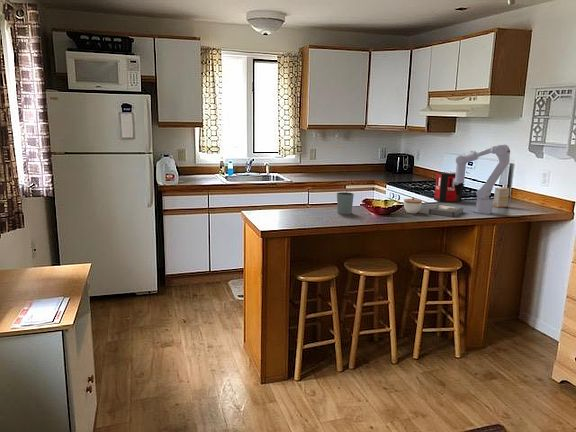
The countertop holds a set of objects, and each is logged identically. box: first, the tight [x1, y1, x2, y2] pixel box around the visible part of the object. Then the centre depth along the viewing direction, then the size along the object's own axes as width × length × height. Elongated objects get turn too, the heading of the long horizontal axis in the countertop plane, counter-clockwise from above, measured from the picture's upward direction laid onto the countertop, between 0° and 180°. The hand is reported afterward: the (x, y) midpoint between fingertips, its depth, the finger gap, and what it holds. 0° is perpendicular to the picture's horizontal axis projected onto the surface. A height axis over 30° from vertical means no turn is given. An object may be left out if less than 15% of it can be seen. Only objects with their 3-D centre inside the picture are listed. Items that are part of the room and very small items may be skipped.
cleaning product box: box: [433, 171, 464, 203], centre depth 342 cm, size 16×9×20 cm, turn 98°
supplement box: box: [492, 186, 510, 208], centre depth 326 cm, size 8×5×13 cm, turn 108°
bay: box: [428, 204, 464, 218], centre depth 299 cm, size 15×20×3 cm
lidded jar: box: [403, 197, 423, 214], centre depth 297 cm, size 11×11×9 cm
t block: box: [438, 204, 457, 212], centre depth 297 cm, size 10×10×4 cm
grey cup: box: [336, 191, 354, 215], centre depth 288 cm, size 10×10×12 cm
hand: (458, 194), depth 313 cm, fingers closed
